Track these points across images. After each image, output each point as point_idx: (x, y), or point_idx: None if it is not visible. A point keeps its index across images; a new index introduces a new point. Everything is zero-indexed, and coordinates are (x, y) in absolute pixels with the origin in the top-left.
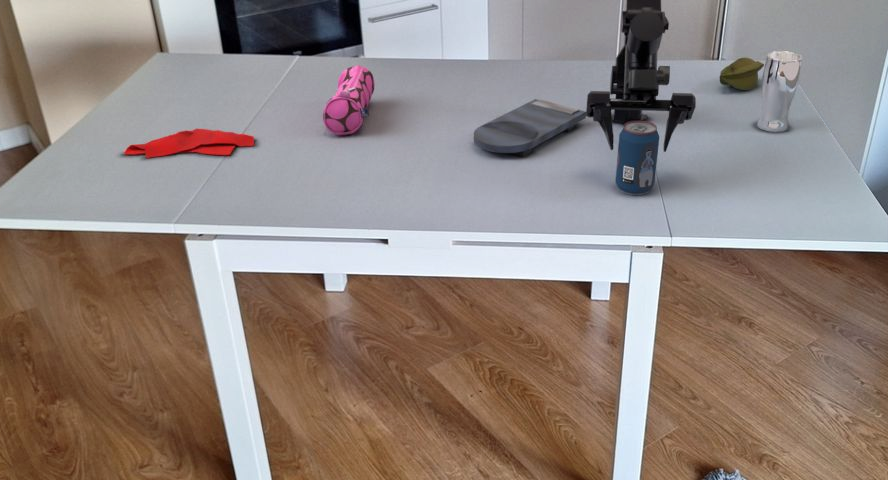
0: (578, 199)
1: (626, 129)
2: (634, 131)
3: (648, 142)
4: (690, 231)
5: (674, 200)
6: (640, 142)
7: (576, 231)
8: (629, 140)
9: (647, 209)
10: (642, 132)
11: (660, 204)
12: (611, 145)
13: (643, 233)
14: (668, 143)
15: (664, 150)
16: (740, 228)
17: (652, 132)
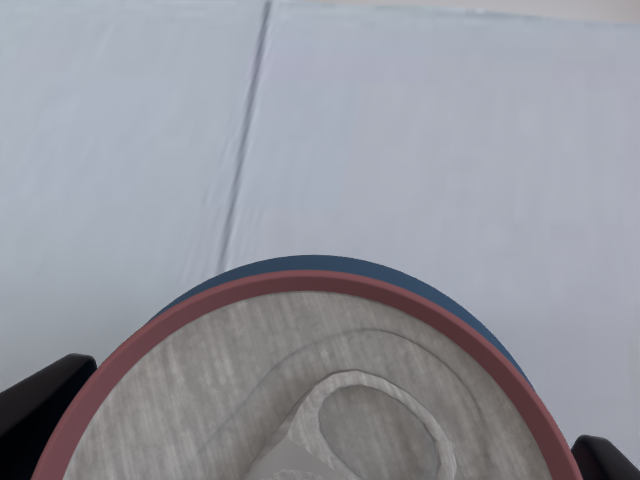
0: (614, 312)
1: (564, 438)
2: (411, 440)
3: (249, 267)
4: (189, 27)
5: (165, 276)
6: (343, 260)
7: (612, 39)
8: (469, 317)
9: (306, 198)
10: (296, 386)
11: (239, 241)
12: (613, 450)
13: (362, 19)
14: (15, 386)
15: (93, 365)
16: (5, 41)
17: (159, 316)
